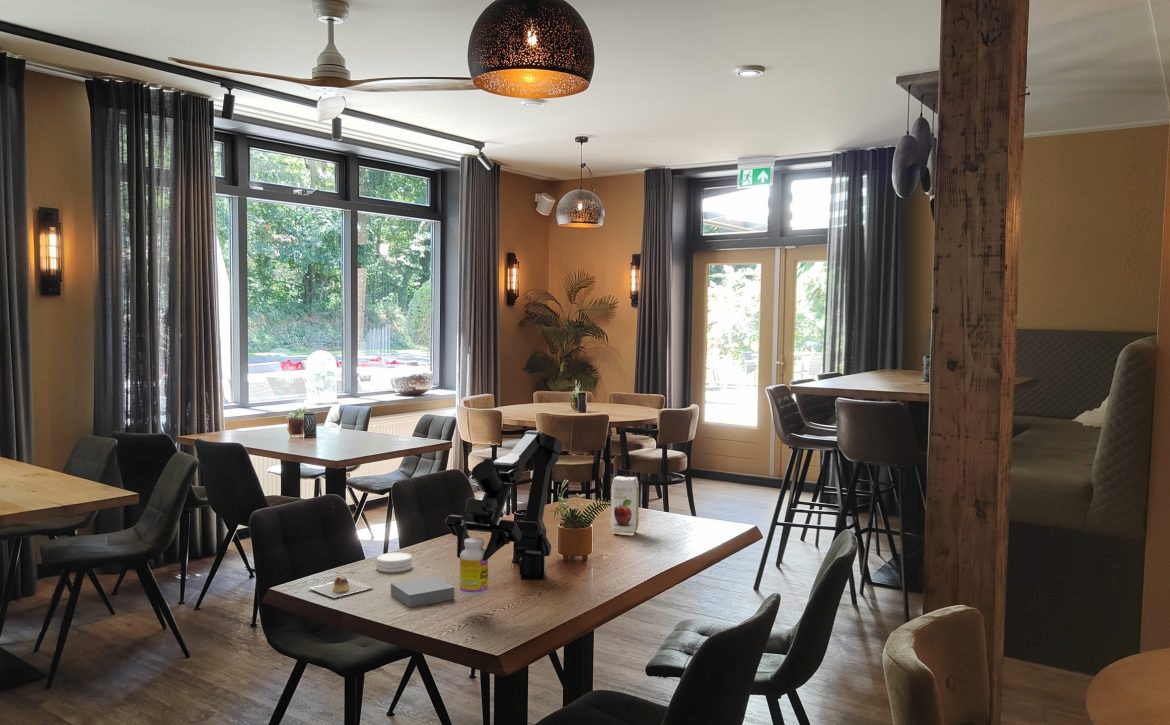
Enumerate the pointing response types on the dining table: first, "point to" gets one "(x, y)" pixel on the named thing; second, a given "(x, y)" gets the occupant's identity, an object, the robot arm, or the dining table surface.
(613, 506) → the juice carton
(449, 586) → the block
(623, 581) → the dining table surface
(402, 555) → the coaster
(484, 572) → the supplement bottle
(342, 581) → the dessert
